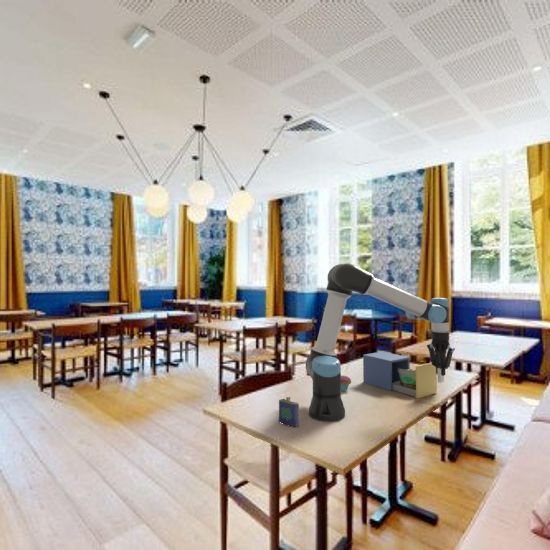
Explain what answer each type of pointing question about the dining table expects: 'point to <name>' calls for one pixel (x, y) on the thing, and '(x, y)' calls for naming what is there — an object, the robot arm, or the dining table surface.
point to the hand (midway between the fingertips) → (440, 381)
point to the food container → (407, 378)
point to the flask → (289, 412)
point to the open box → (383, 368)
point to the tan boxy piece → (420, 382)
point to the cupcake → (345, 382)
